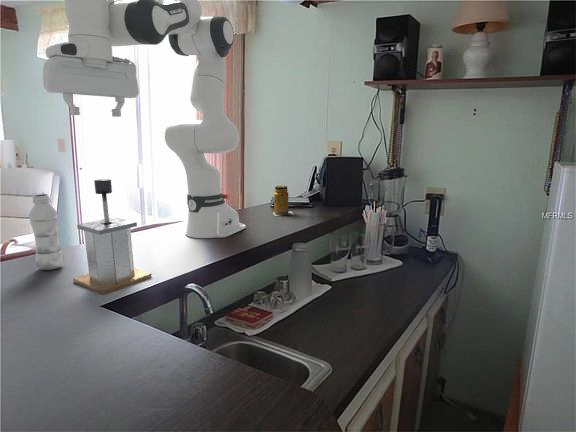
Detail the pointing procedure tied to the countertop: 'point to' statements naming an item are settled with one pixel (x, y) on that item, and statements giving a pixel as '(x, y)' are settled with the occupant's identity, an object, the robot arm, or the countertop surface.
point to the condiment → (281, 201)
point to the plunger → (104, 194)
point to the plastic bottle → (46, 233)
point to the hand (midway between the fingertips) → (96, 115)
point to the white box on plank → (109, 256)
